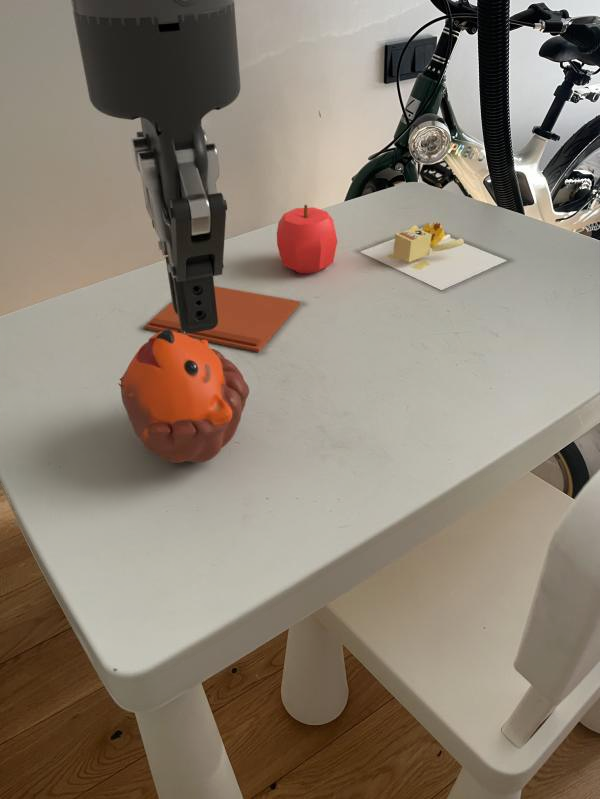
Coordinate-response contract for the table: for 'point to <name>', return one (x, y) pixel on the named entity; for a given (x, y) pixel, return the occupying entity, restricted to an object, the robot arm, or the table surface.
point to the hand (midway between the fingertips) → (195, 318)
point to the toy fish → (183, 397)
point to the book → (235, 319)
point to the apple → (306, 239)
